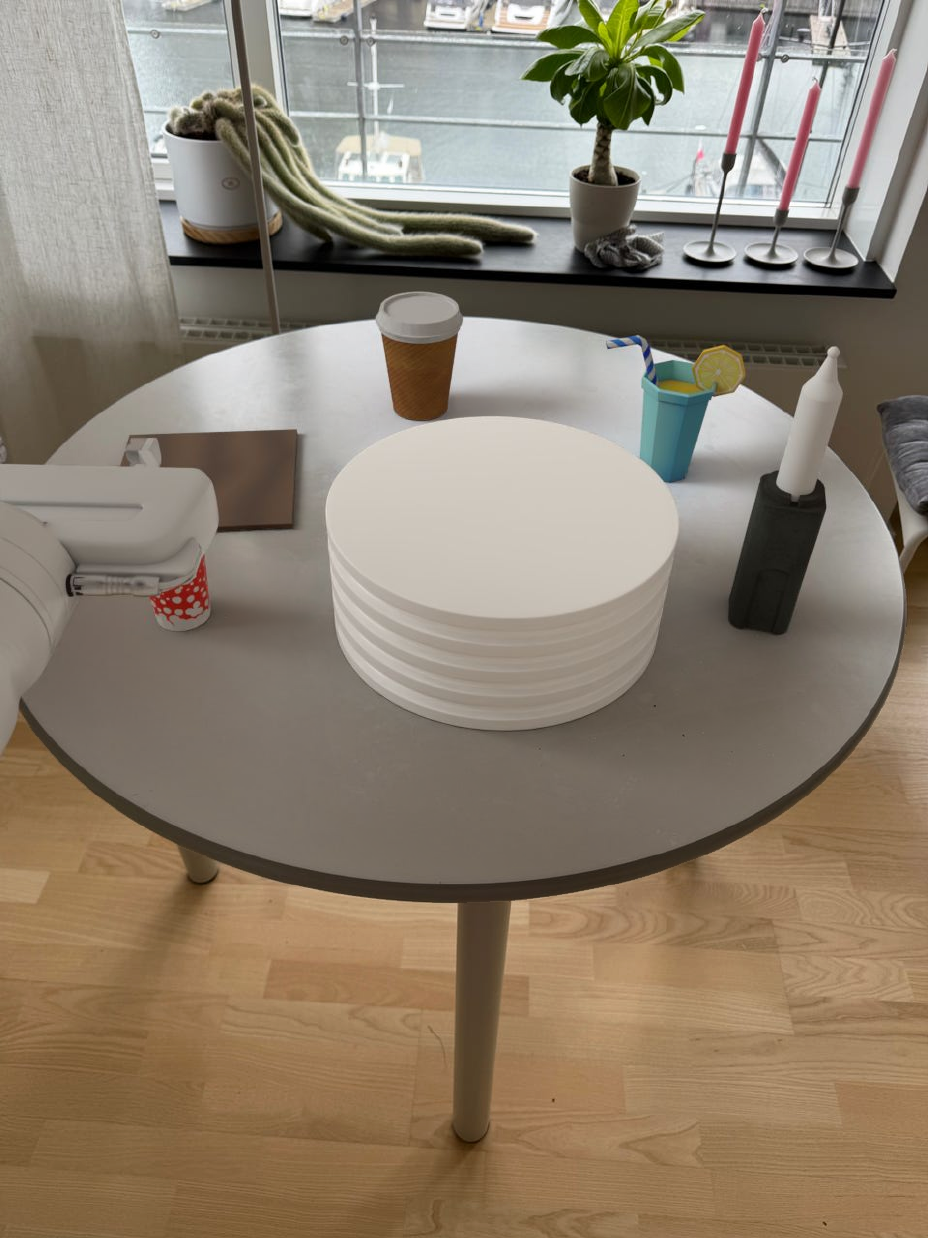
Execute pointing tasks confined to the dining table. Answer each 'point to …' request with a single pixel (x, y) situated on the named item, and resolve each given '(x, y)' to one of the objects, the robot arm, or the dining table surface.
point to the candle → (787, 513)
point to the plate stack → (499, 569)
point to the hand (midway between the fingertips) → (70, 445)
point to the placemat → (239, 472)
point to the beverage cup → (184, 603)
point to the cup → (679, 402)
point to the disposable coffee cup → (419, 351)
